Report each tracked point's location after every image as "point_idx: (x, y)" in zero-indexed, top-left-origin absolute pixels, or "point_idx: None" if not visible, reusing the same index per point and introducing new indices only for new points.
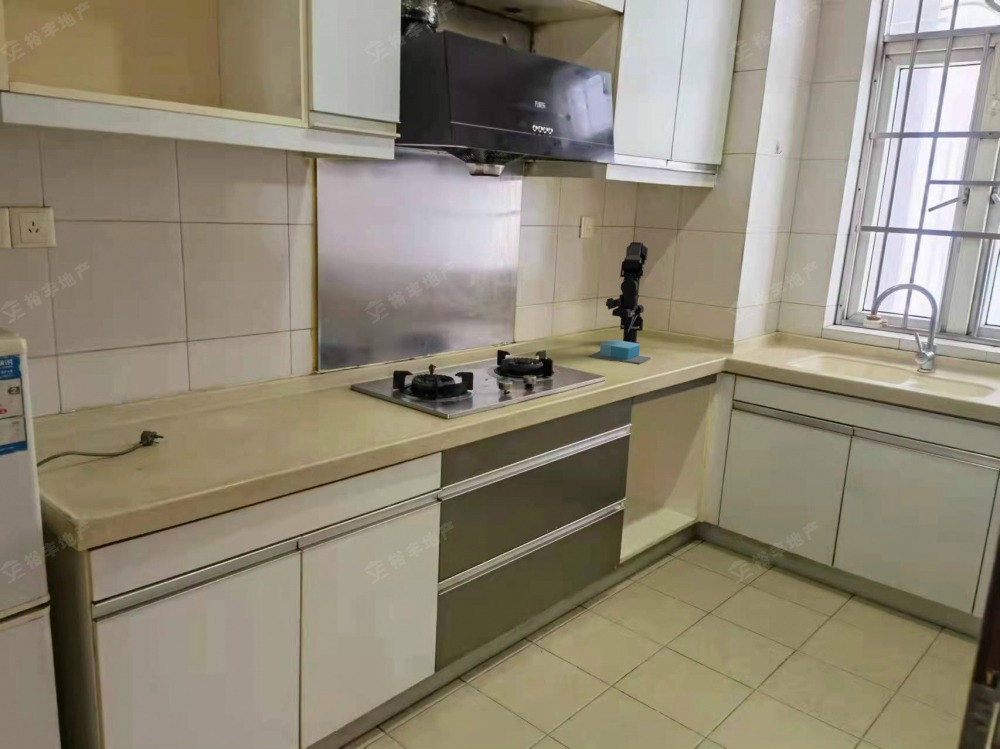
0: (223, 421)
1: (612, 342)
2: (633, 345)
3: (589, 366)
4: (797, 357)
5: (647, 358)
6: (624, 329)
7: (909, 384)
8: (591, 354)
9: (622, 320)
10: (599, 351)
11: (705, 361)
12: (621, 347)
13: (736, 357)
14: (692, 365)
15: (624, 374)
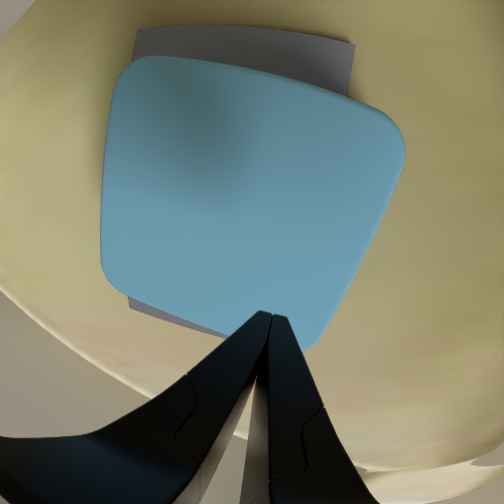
0: None
1: (231, 139)
2: (207, 319)
3: (5, 131)
4: (415, 500)
5: None
6: (236, 332)
7: None
8: (160, 27)
9: (117, 422)
10: (299, 36)
11: None
12: (100, 245)
13: (401, 476)
14: (245, 434)
15: (7, 258)
